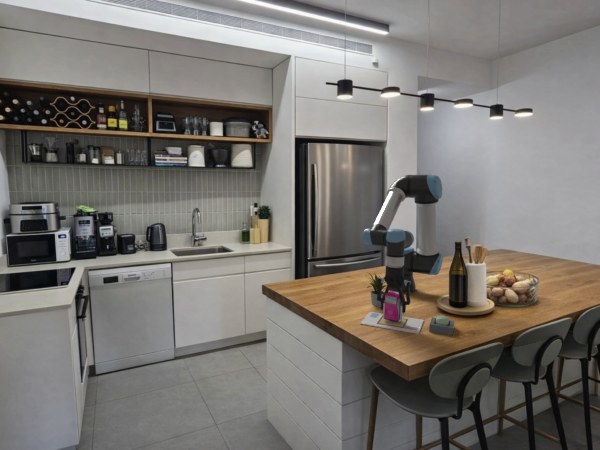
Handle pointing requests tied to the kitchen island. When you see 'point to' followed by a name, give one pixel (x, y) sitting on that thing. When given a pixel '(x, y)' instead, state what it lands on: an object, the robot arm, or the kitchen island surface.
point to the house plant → (374, 293)
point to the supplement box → (392, 306)
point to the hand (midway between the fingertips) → (392, 318)
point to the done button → (442, 320)
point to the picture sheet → (393, 323)
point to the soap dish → (441, 327)
